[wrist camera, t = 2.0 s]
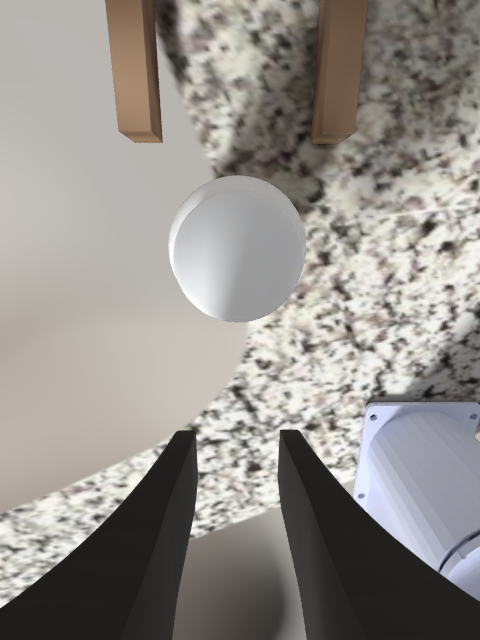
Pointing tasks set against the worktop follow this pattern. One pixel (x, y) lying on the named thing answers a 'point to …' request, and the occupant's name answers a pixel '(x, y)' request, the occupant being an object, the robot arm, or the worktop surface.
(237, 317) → the supplement bottle
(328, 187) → the worktop surface
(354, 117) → the wooden u-shaped bracket
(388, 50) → the worktop surface
